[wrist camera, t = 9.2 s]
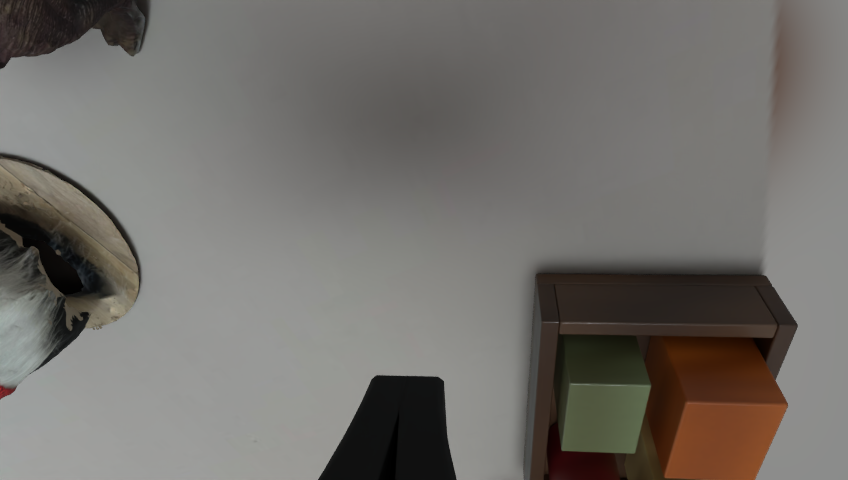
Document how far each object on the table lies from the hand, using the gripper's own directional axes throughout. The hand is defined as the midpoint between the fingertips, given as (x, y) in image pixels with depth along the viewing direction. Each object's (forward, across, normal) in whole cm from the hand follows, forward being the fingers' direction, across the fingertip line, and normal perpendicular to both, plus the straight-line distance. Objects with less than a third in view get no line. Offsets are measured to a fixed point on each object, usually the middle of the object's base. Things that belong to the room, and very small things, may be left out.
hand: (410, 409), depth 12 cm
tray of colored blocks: (+9, -7, +10) cm, 15 cm away
